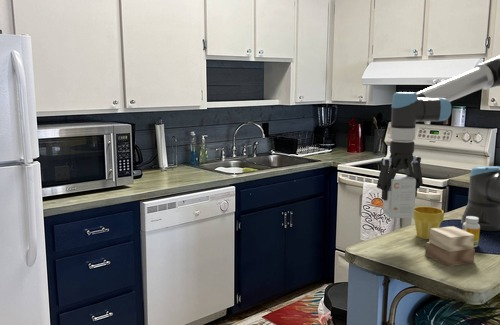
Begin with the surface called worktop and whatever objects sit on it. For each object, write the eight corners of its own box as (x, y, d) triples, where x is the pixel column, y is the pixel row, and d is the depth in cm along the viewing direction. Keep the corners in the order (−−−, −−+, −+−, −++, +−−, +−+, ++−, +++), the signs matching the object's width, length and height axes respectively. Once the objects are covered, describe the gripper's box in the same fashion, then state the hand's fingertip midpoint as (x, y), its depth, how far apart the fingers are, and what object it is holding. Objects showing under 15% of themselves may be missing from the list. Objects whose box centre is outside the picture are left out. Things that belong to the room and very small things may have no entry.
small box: (406, 212, 165) (408, 175, 163) (414, 218, 159) (416, 179, 157) (383, 213, 165) (384, 175, 162) (390, 218, 158) (392, 179, 156)
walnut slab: (449, 252, 160) (451, 238, 159) (473, 263, 150) (474, 249, 150) (425, 255, 156) (426, 242, 155) (447, 267, 147) (449, 252, 146)
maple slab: (452, 239, 158) (453, 226, 157) (473, 249, 150) (474, 234, 149) (429, 242, 155) (430, 228, 154) (449, 251, 147) (450, 237, 146)
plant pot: (405, 235, 175) (407, 209, 173) (420, 230, 181) (422, 204, 180) (432, 243, 167) (434, 215, 165) (447, 237, 174) (449, 210, 172)
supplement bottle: (457, 243, 167) (459, 216, 166) (468, 241, 169) (471, 214, 168) (470, 248, 162) (472, 220, 161) (481, 246, 164) (484, 218, 163)
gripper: (422, 137, 165) (418, 202, 169) (366, 140, 157) (364, 208, 161) (437, 140, 158) (433, 207, 162) (380, 143, 150) (377, 214, 154)
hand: (398, 208), depth 161 cm, fingers closed on small box, 9 cm apart
